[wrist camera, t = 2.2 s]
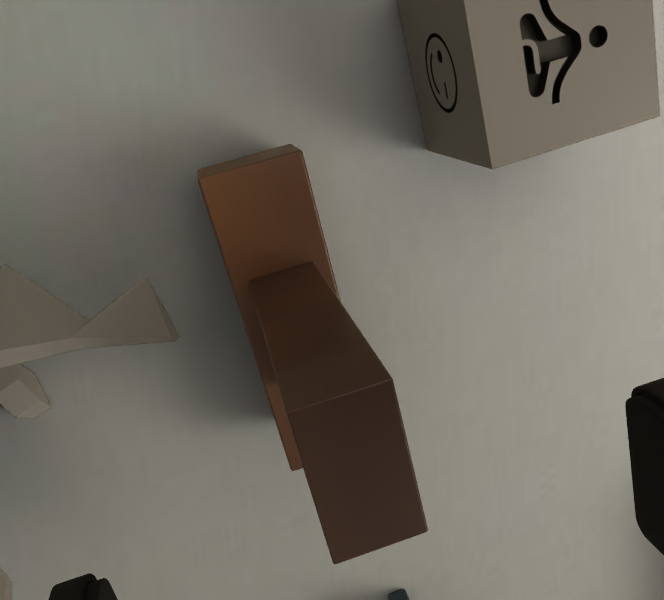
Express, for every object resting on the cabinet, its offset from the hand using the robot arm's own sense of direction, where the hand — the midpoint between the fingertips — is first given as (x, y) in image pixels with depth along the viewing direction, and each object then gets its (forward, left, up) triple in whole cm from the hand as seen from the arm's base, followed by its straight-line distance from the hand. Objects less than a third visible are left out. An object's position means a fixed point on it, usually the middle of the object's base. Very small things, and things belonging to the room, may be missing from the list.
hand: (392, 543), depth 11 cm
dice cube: (-7, +8, -13) cm, 16 cm away
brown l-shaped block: (-1, 0, -12) cm, 12 cm away
